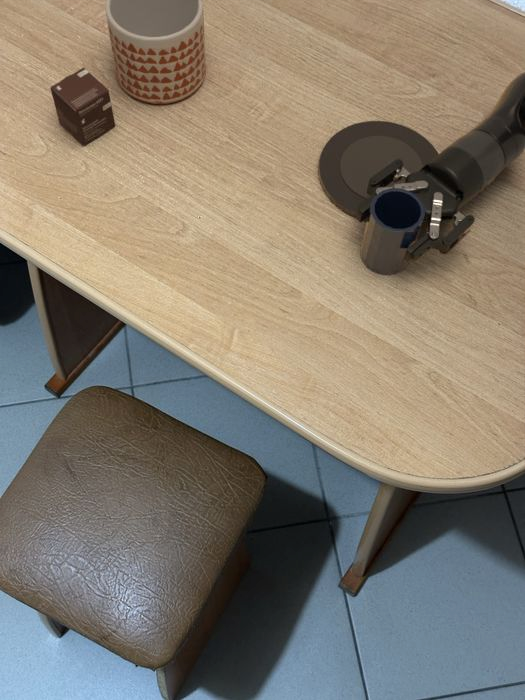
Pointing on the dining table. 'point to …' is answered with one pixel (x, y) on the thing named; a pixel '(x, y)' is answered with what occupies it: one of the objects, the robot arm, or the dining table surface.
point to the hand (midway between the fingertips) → (382, 236)
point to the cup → (391, 230)
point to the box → (83, 106)
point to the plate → (368, 159)
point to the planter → (157, 47)
